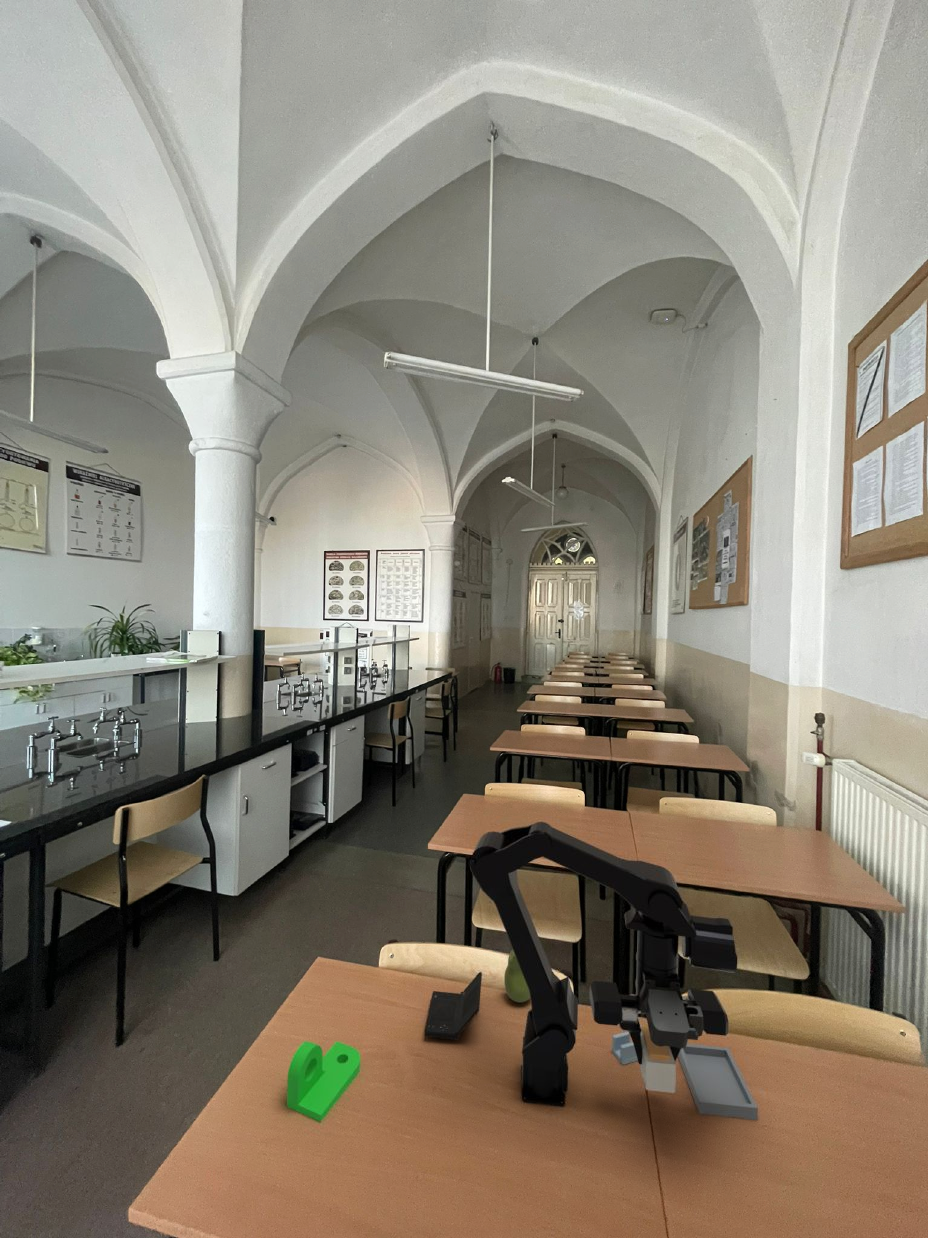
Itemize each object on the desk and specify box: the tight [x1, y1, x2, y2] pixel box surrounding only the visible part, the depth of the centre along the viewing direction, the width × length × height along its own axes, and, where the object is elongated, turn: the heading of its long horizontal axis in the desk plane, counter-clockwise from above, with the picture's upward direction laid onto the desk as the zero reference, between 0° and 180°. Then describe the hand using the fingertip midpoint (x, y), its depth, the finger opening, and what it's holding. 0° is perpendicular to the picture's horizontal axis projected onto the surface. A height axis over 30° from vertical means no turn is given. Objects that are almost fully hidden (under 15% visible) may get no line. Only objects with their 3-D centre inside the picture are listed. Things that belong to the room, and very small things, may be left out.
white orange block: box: [638, 1024, 677, 1094], centre depth 80 cm, size 4×7×5 cm, turn 174°
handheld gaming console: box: [423, 971, 483, 1041], centre depth 98 cm, size 12×7×10 cm
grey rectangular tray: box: [677, 1043, 759, 1121], centre depth 85 cm, size 8×11×2 cm
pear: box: [503, 948, 530, 1003], centre depth 104 cm, size 6×5×10 cm
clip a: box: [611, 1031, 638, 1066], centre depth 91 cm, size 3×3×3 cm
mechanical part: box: [286, 1040, 361, 1123], centre depth 83 cm, size 12×6×8 cm, turn 157°
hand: (654, 1063), depth 80 cm, fingers closed on white orange block, 4 cm apart
